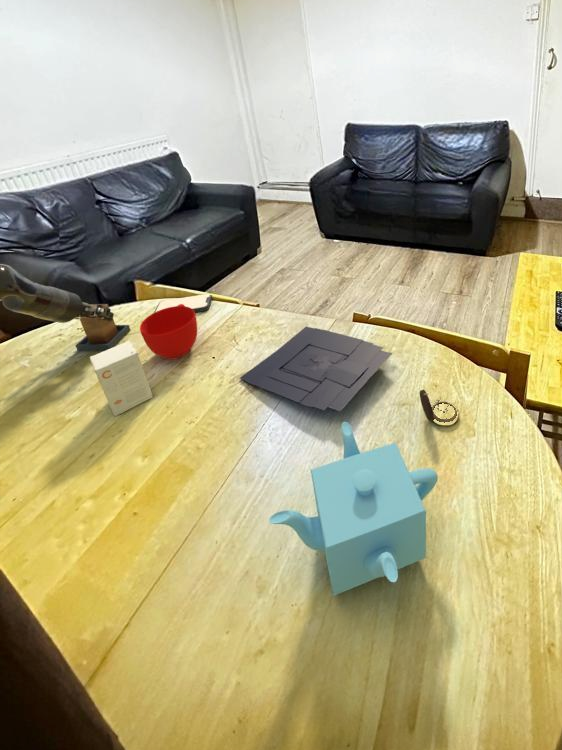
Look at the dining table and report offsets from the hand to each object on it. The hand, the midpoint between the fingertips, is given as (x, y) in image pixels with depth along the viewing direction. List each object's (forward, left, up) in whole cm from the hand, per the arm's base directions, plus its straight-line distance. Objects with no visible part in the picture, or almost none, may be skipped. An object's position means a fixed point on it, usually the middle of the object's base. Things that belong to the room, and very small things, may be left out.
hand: (101, 317), depth 114 cm
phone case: (+15, +14, -7) cm, 22 cm away
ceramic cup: (+23, -5, -7) cm, 24 cm away
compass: (+91, -28, -7) cm, 95 cm away
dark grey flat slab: (+63, -15, -7) cm, 65 cm away
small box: (+21, -24, -7) cm, 32 cm away
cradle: (0, -2, -7) cm, 7 cm away
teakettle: (+77, -54, -7) cm, 94 cm away
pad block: (0, -2, -6) cm, 6 cm away
